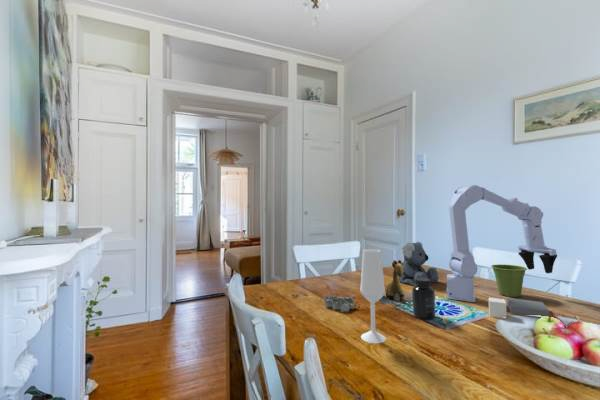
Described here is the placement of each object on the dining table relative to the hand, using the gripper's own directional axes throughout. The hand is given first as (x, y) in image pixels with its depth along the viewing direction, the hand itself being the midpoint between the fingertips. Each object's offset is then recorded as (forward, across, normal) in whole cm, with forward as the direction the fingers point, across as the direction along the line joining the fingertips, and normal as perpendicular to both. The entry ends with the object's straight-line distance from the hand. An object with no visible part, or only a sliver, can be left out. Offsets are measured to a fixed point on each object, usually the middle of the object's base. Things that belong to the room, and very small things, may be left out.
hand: (539, 270), depth 115 cm
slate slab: (+8, -13, +20) cm, 25 cm away
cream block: (+6, -15, +32) cm, 36 cm away
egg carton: (-1, +1, +81) cm, 81 cm away
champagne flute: (0, -25, +78) cm, 82 cm away
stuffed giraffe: (+3, +8, +56) cm, 57 cm away
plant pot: (+9, +5, +10) cm, 15 cm away
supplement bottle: (+3, -12, +56) cm, 57 cm away
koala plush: (+5, +30, +38) cm, 48 cm away
